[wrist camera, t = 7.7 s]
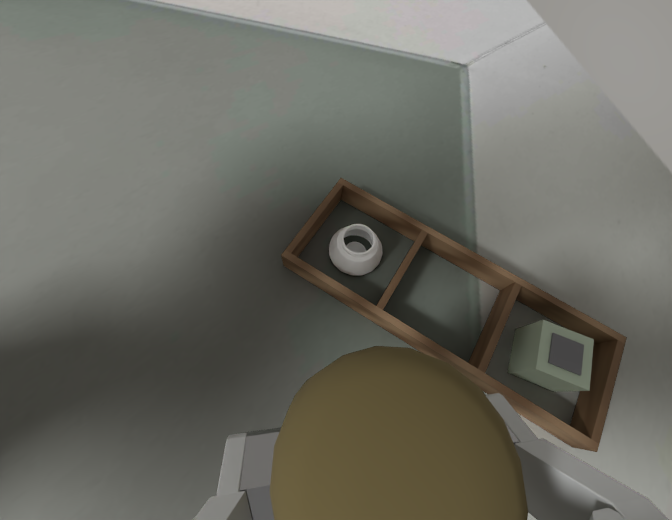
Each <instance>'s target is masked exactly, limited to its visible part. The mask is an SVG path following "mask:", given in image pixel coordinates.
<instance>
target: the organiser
mask: <svg viewBox="0 0 672 520" xmlns="http://www.w3.org/2000/svg"><path fill="white" fill-rule="evenodd" d="M340 200H343V201H344V202H346V203H348V204H350V205H351V206H353V207H355V208H357V209H358V210H360V211H362V212H364V213H365V214H367V215H369V216H371V217H372V218H374V219H376V220H378V221H379V222H381V223H383V224H385V225H386V226H388V227H390V228H392V229H393V230H395V231H397V232H399V233H400V234H402V235H404V236H406V237H407V238H409V239H411V240H413V241H414V243H413V245H412V247H411V248H410V250H409V252H408V253H407V255H406V257H405V258H404V260H403V262H402V263H401V265H400V267H399V268H398V270H397V272H396V273H395V275H394V277H393V278H392V280H391V282H390V283H389V285H388V287H387V288H386V290H385V292H384V293H383V295H382V297H381V298H380V300H379V302H378V303H377V305H376V306H375V305H374V304H372V303H371V302H369V301H367V300H366V299H364V298H363V297H361V296H359V295H358V294H356V293H354V292H353V291H351V290H350V289H348V288H346V287H345V286H343V285H342V284H340V283H338V282H337V281H335V280H333V279H332V278H330V277H329V276H327V275H325V274H324V273H322V272H321V271H319V270H317V269H316V268H314V267H312V266H311V265H309V264H308V263H306V262H304V261H303V260H301V259H300V258H298V256H299V255H300V254H301V252H302V251H303V250H304V248H305V247H306V246H307V244H308V243H309V242H310V240H311V239H312V238H313V236H314V235H315V234H316V232H317V231H318V230H319V228H320V227H321V226H322V224H323V223H324V222H325V220H326V219H327V218H328V216H329V215H330V214H331V212H332V211H333V210H334V208H335V207H336V206H337V204H338V203H339V201H340ZM420 246H423V247H425V248H427V249H428V250H430V251H432V252H434V253H435V254H437V255H439V256H441V257H442V258H444V259H446V260H448V261H449V262H451V263H453V264H455V265H456V266H458V267H460V268H462V269H463V270H465V271H467V272H469V273H470V274H472V275H474V276H476V277H477V278H479V279H481V280H483V281H484V282H486V283H488V284H490V285H491V286H493V287H495V288H497V289H498V290H500V292H499V294H498V297H497V299H496V301H495V303H494V306H493V308H492V310H491V312H490V315H489V317H488V319H487V321H486V324H485V326H484V328H483V330H482V333H481V335H480V337H479V339H478V342H477V344H476V346H475V348H474V351H473V353H472V355H471V357H470V360H469V362H466V361H464V360H463V359H461V358H460V357H458V356H456V355H455V354H453V353H451V352H450V351H448V350H447V349H445V348H443V347H442V346H440V345H438V344H437V343H435V342H434V341H432V340H430V339H429V338H427V337H426V336H424V335H422V334H421V333H419V332H417V331H416V330H414V329H413V328H411V327H409V326H408V325H406V324H405V323H403V322H401V321H400V320H398V319H396V318H395V317H393V316H392V315H390V314H388V313H387V312H385V311H384V310H383V309H384V307H385V306H386V304H387V302H388V300H389V299H390V297H391V295H392V294H393V292H394V290H395V288H396V287H397V285H398V283H399V282H400V280H401V278H402V277H403V275H404V273H405V271H406V270H407V268H408V266H409V265H410V263H411V261H412V259H413V258H414V256H415V254H416V253H417V251H418V249H419V247H420ZM281 257H282V261H283V265H284V266H285V267H286V268H288V269H290V270H291V271H293V272H294V273H296V274H298V275H299V276H301V277H302V278H304V279H306V280H307V281H309V282H310V283H312V284H313V285H315V286H317V287H318V288H320V289H321V290H323V291H325V292H326V293H328V294H329V295H331V296H333V297H334V298H336V299H337V300H339V301H341V302H342V303H344V304H345V305H347V306H348V307H350V308H352V309H353V310H355V311H356V312H358V313H360V314H361V315H363V316H364V317H366V318H368V319H369V320H371V321H372V322H374V323H376V324H377V325H379V326H380V327H382V328H383V329H385V330H387V331H388V332H390V333H391V334H393V335H395V336H396V337H398V338H399V339H401V340H403V341H404V342H406V343H407V344H409V345H411V346H412V347H414V348H415V349H417V350H418V351H420V352H422V353H424V354H427V355H429V356H432V357H434V358H437V359H439V360H442V361H444V362H447V363H449V364H450V365H452V366H453V367H454V368H455V369H457V370H458V371H459V372H461V373H462V374H463V375H464V376H466V377H467V378H468V379H470V380H471V381H472V382H473V383H475V384H476V385H477V386H479V388H480V389H481V390H482V391H484V392H485V393H487V394H488V395H489V394H495V393H500V394H501V395H503V396H504V398H505V399H506V400H507V401H508V403H509V404H510V405H511V406H512V407H513V409H514V410H515V411H516V412H517V413H519V414H520V415H522V416H523V417H525V418H527V419H528V420H530V421H531V422H533V423H535V424H536V425H538V426H539V427H541V428H543V429H544V430H546V431H547V432H549V433H551V434H552V435H554V436H555V437H557V438H558V439H560V440H562V441H563V442H565V443H566V444H568V445H570V446H571V447H574V448H579V449H585V450H590V451H595V452H597V450H598V446H599V443H600V439H601V435H602V431H603V427H604V423H605V419H606V415H607V412H608V408H609V404H610V400H611V396H612V392H613V388H614V385H615V381H616V377H617V373H618V369H619V365H620V361H621V357H622V354H623V350H624V346H625V342H626V338H627V337H625V336H623V335H621V334H619V333H618V332H616V331H614V330H612V329H610V328H609V327H607V326H605V325H603V324H602V323H600V322H598V321H596V320H594V319H593V318H591V317H589V316H587V315H585V314H584V313H582V312H580V311H578V310H576V309H575V308H573V307H571V306H569V305H568V304H566V303H564V302H562V301H560V300H559V299H557V298H555V297H553V296H551V295H550V294H548V293H546V292H544V291H543V290H541V289H539V288H537V287H535V286H534V285H532V284H530V283H528V282H526V281H525V280H523V279H521V278H519V277H517V276H516V275H514V274H512V273H510V272H509V271H507V270H505V269H503V268H501V267H500V266H498V265H496V264H494V263H492V262H491V261H489V260H487V259H485V258H484V257H482V256H480V255H478V254H476V253H475V252H473V251H471V250H469V249H467V248H466V247H464V246H462V245H460V244H458V243H457V242H455V241H453V240H451V239H450V238H448V237H446V236H444V235H442V234H441V233H439V232H437V231H435V230H433V229H432V228H430V227H428V226H426V225H425V224H423V223H421V222H419V221H417V220H416V219H414V218H412V217H410V216H408V215H407V214H405V213H403V212H401V211H399V210H398V209H396V208H394V207H392V206H391V205H389V204H387V203H385V202H383V201H382V200H380V199H378V198H376V197H374V196H373V195H371V194H369V193H367V192H366V191H364V190H362V189H360V188H358V187H357V186H355V185H353V184H351V183H349V182H348V181H346V180H344V179H342V178H340V180H339V181H338V182H337V183H336V185H335V186H334V187H333V189H332V190H331V191H330V192H329V194H328V195H327V196H326V198H325V199H324V200H323V202H322V203H321V204H320V205H319V207H318V208H317V209H316V211H315V212H314V213H313V214H312V216H311V217H310V218H309V220H308V221H307V222H306V223H305V225H304V226H303V227H302V229H301V230H300V231H299V233H298V234H297V235H296V236H295V238H294V239H293V240H292V242H291V243H290V244H289V245H288V247H287V248H286V249H285V251H284V252H283V253H282V254H281ZM515 300H518V301H519V302H521V303H523V304H525V305H526V306H528V307H530V308H532V309H533V310H535V311H537V312H539V313H540V314H542V315H544V316H546V317H547V318H549V319H551V320H553V321H554V322H556V323H558V324H560V325H561V326H563V327H565V328H567V329H569V330H571V331H574V332H576V333H579V334H581V335H584V336H587V337H589V338H592V339H594V346H593V356H592V368H591V380H590V391H580V394H579V397H578V400H577V404H576V407H575V410H574V414H573V417H572V420H571V424H570V426H569V425H568V424H566V423H565V422H563V421H561V420H560V419H558V418H556V417H555V416H553V415H552V414H550V413H548V412H547V411H545V410H544V409H542V408H540V407H539V406H537V405H535V404H534V403H532V402H531V401H529V400H527V399H526V398H524V397H523V396H521V395H519V394H518V393H516V392H514V391H513V390H511V389H510V388H508V387H506V386H505V385H503V384H502V383H500V382H498V381H497V380H495V379H493V378H492V377H490V376H489V375H487V374H485V372H486V370H487V367H488V365H489V362H490V360H491V358H492V355H493V353H494V350H495V348H496V346H497V343H498V341H499V338H500V336H501V334H502V331H503V329H504V327H505V324H506V322H507V319H508V317H509V315H510V312H511V310H512V307H513V305H514V303H515Z"/></svg>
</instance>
